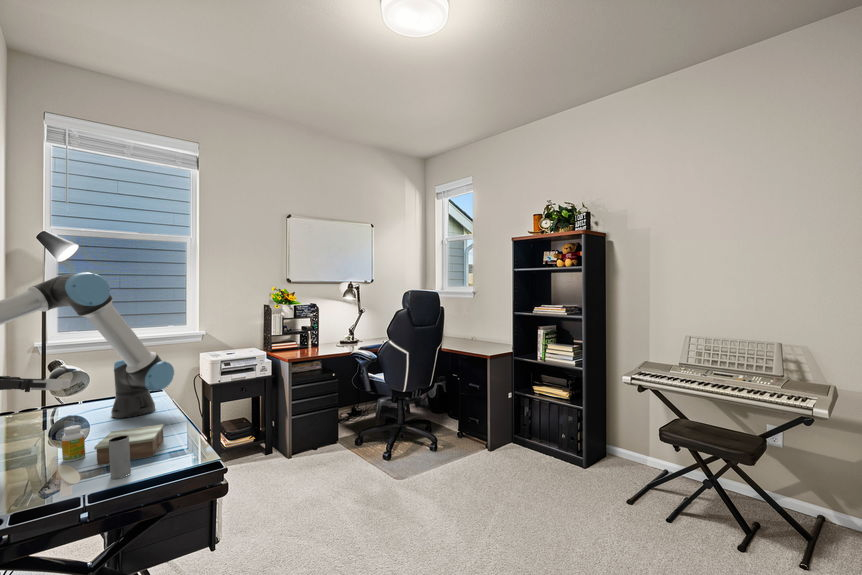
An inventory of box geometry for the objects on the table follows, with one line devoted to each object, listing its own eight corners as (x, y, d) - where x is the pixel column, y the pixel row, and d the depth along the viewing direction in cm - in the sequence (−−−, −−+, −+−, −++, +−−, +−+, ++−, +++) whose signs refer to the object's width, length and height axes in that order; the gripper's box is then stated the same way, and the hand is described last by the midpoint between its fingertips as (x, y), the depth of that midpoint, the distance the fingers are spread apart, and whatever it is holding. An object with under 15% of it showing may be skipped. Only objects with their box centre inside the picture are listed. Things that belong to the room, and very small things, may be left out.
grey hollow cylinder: (128, 477, 118) (125, 439, 117) (108, 480, 116) (105, 442, 116) (133, 470, 122) (131, 434, 122) (114, 473, 120) (111, 436, 120)
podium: (112, 448, 140) (111, 431, 140) (165, 440, 146) (164, 424, 145) (95, 466, 126) (94, 446, 126) (154, 456, 132) (153, 438, 132)
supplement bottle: (70, 463, 130) (68, 430, 130) (58, 461, 132) (56, 429, 131) (89, 456, 135) (87, 424, 135) (78, 454, 137) (76, 423, 137)
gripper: (-16, 392, 134) (71, 394, 145) (-51, 398, 113) (53, 400, 124) (-10, 368, 136) (75, 371, 146) (-43, 369, 115) (59, 373, 125)
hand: (65, 384), depth 135 cm, fingers open, 13 cm apart
